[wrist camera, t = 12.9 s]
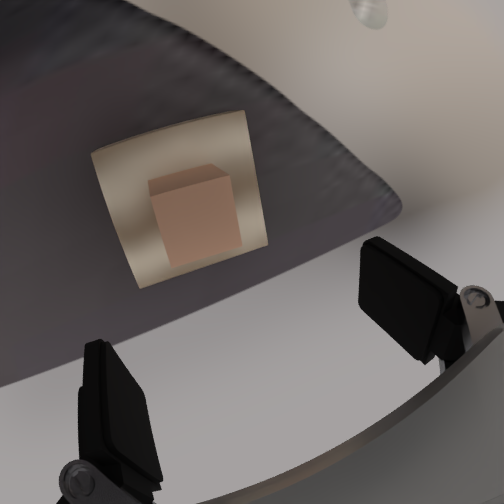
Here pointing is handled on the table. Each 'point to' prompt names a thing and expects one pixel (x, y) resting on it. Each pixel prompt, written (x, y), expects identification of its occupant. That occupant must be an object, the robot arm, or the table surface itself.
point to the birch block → (171, 161)
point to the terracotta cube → (195, 213)
